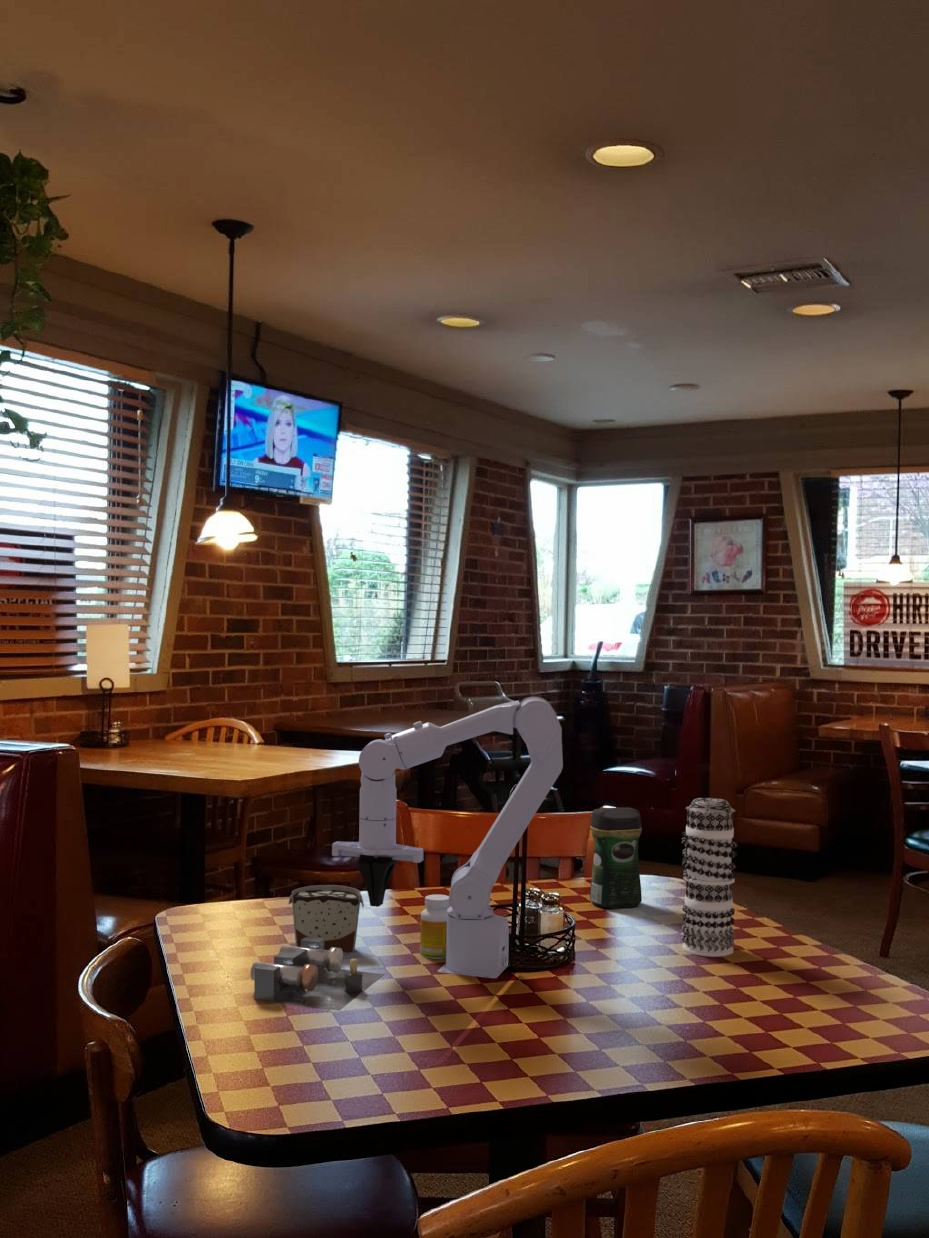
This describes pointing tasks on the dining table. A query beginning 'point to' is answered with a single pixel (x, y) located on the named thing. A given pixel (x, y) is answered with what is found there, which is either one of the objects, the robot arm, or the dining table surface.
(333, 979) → the mount
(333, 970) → the silver long cylinder
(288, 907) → the dining table surface
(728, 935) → the decorative candle
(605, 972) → the dining table surface
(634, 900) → the coffee jar
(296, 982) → the copper-capped metal rod
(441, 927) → the supplement bottle
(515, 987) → the dining table surface
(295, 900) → the food container
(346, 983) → the potentiometer
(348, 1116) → the dining table surface
